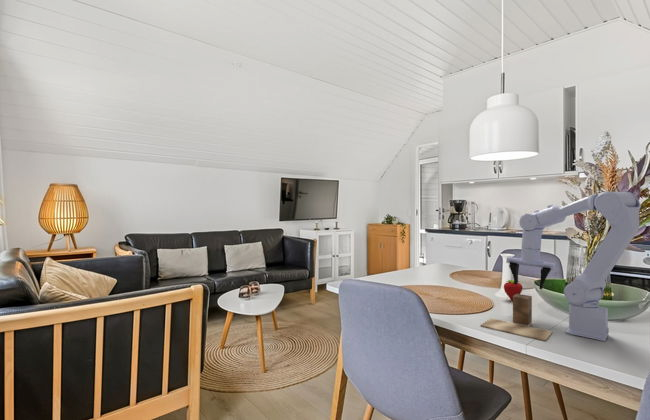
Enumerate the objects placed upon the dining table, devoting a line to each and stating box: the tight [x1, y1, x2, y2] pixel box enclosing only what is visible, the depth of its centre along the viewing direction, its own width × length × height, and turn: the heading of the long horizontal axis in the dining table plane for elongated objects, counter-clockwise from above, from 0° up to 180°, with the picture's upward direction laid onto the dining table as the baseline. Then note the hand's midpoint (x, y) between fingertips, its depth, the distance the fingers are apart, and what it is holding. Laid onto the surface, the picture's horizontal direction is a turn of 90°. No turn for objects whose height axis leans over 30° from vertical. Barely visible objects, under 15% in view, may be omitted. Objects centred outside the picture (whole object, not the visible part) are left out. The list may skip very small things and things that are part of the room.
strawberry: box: [503, 278, 523, 301], centre depth 139 cm, size 6×8×10 cm
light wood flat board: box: [480, 317, 553, 342], centre depth 107 cm, size 18×9×1 cm, turn 46°
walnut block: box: [512, 293, 533, 327], centre depth 113 cm, size 4×4×9 cm
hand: (528, 286), depth 120 cm, fingers open, 7 cm apart
